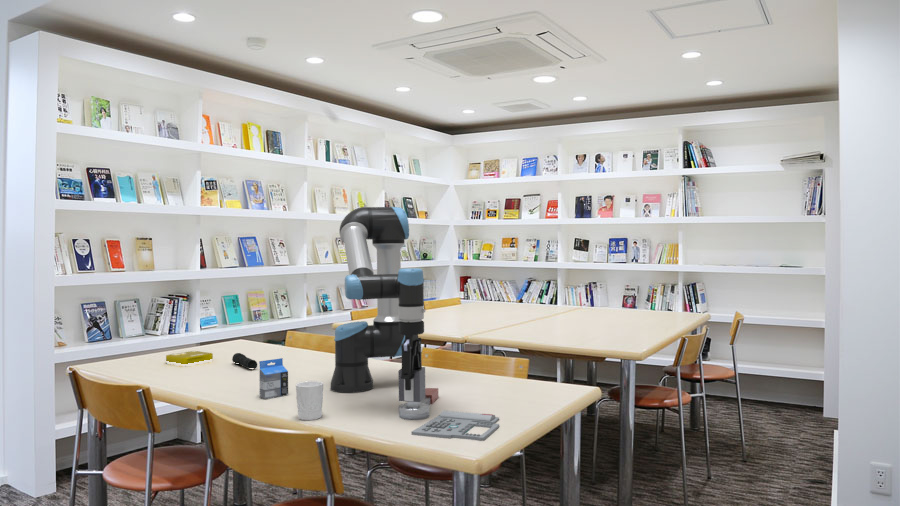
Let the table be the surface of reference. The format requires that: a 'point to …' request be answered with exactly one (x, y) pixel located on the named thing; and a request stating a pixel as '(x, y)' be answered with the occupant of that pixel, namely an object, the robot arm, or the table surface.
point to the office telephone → (458, 425)
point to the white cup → (309, 400)
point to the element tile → (189, 357)
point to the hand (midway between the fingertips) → (412, 397)
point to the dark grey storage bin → (418, 384)
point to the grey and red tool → (418, 406)
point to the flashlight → (244, 360)
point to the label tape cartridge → (273, 379)
